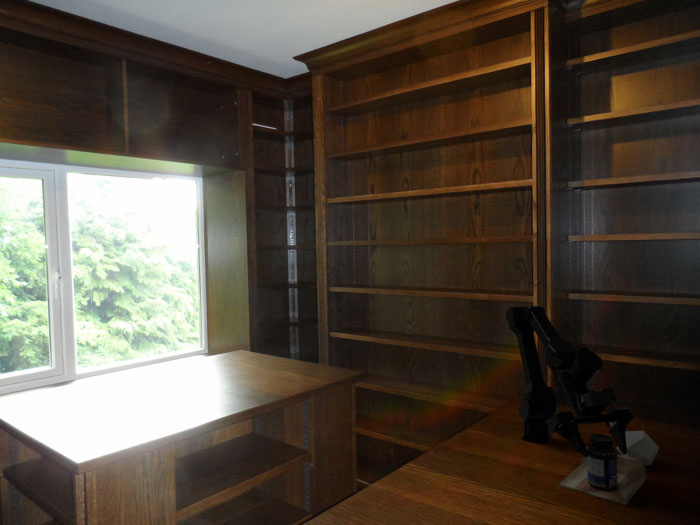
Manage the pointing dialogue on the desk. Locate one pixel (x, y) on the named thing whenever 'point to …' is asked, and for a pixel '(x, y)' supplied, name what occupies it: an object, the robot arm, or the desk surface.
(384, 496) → the desk surface
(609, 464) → the pill bottle
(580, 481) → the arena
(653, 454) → the grey polyhedron
